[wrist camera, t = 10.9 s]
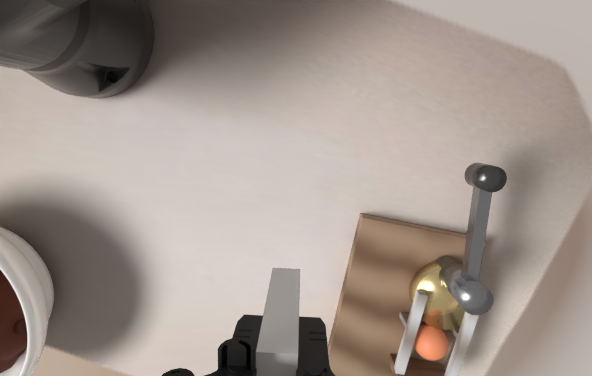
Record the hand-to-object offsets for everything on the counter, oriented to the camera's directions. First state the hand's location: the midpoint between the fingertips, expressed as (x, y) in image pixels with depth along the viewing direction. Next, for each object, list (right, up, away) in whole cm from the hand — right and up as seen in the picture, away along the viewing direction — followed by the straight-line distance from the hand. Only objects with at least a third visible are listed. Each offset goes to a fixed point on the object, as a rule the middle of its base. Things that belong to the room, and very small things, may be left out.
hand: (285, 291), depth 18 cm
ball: (+17, -13, +23) cm, 32 cm away
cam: (+20, -1, +21) cm, 29 cm away
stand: (+14, -10, +25) cm, 30 cm away
